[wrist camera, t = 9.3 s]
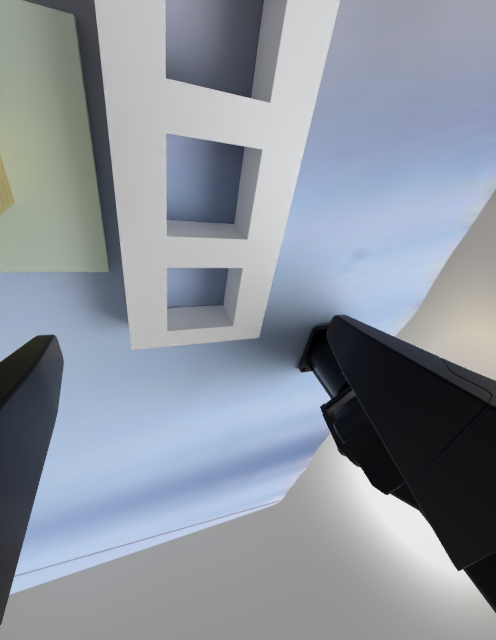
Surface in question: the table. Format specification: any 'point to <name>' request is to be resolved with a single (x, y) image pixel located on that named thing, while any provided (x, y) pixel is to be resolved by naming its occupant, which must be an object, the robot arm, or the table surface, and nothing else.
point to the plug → (4, 190)
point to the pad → (46, 146)
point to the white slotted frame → (214, 125)
